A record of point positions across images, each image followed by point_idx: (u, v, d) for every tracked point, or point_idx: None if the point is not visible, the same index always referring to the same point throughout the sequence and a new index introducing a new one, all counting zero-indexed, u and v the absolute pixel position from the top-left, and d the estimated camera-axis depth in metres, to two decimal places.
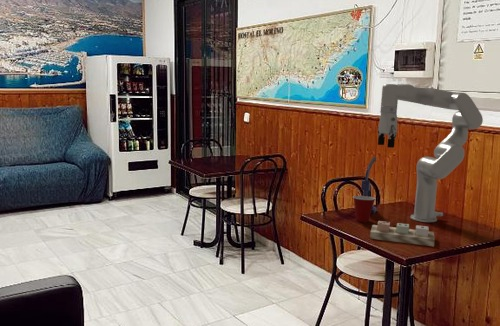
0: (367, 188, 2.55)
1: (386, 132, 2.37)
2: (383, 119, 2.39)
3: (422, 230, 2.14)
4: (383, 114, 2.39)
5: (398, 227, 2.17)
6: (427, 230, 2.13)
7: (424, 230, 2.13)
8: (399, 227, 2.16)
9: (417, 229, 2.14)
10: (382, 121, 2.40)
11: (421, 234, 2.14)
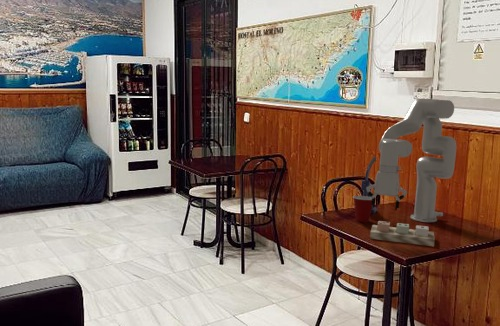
0: None
1: (394, 194, 2.16)
2: (388, 180, 2.15)
3: (422, 230, 2.14)
4: (387, 174, 2.15)
5: (398, 227, 2.17)
6: (427, 230, 2.13)
7: (424, 230, 2.13)
8: (399, 227, 2.16)
9: (417, 229, 2.14)
10: (386, 182, 2.16)
11: (421, 234, 2.14)
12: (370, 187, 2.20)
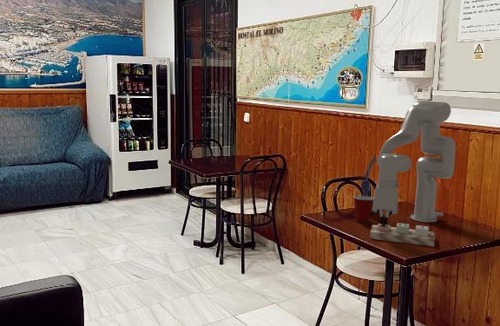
0: (367, 188, 2.55)
1: (393, 209, 2.16)
2: (386, 195, 2.16)
3: (422, 230, 2.14)
4: (386, 189, 2.16)
5: (398, 227, 2.17)
6: (427, 230, 2.13)
7: (424, 230, 2.13)
8: (399, 227, 2.16)
9: (417, 229, 2.14)
10: (384, 197, 2.16)
11: (421, 234, 2.14)
12: None
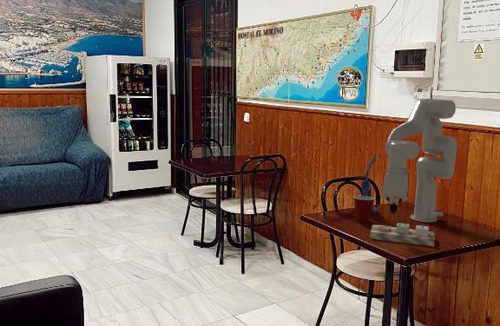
0: (367, 188, 2.55)
1: (402, 196, 2.15)
2: (396, 182, 2.14)
3: (422, 230, 2.14)
4: (395, 176, 2.14)
5: (398, 227, 2.17)
6: (427, 230, 2.13)
7: (424, 230, 2.13)
8: (399, 227, 2.16)
9: (417, 229, 2.14)
10: (394, 185, 2.15)
11: (421, 234, 2.14)
12: None
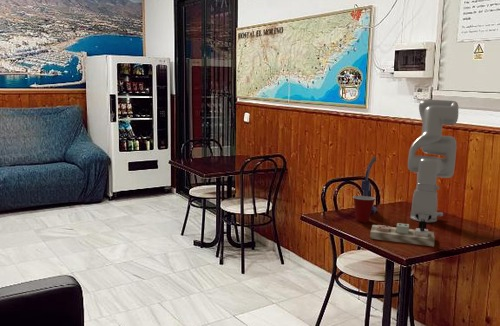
0: (367, 188, 2.55)
1: (432, 213, 2.12)
2: (426, 199, 2.11)
3: (422, 233, 2.14)
4: (425, 193, 2.11)
5: (398, 227, 2.17)
6: (427, 233, 2.13)
7: (424, 233, 2.14)
8: (399, 227, 2.16)
9: (417, 232, 2.14)
10: (424, 201, 2.12)
11: None
12: None
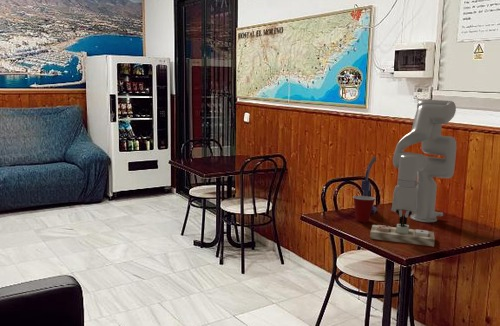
0: (367, 188, 2.55)
1: (412, 209, 2.14)
2: (406, 194, 2.14)
3: (422, 234, 2.14)
4: (406, 189, 2.13)
5: (398, 228, 2.17)
6: (427, 234, 2.13)
7: (424, 234, 2.14)
8: (399, 228, 2.16)
9: (417, 233, 2.15)
10: (404, 197, 2.14)
11: None
12: None
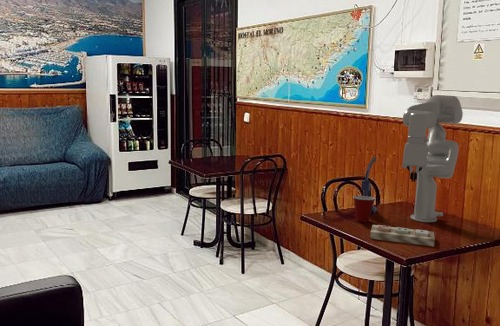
0: (367, 188, 2.55)
1: (423, 164, 2.22)
2: (416, 151, 2.22)
3: (422, 234, 2.14)
4: (416, 146, 2.21)
5: (398, 231, 2.17)
6: (427, 234, 2.13)
7: (424, 234, 2.14)
8: (399, 231, 2.17)
9: (417, 233, 2.15)
10: (414, 153, 2.22)
11: None
12: None
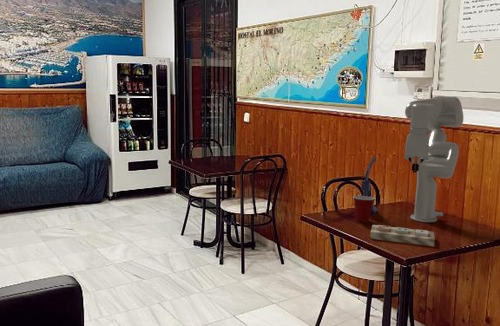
0: (367, 188, 2.55)
1: (424, 155, 2.24)
2: (418, 142, 2.23)
3: (422, 234, 2.14)
4: (418, 137, 2.23)
5: (398, 231, 2.17)
6: (427, 234, 2.13)
7: (424, 234, 2.14)
8: (399, 231, 2.17)
9: (417, 233, 2.15)
10: (416, 145, 2.24)
11: None
12: None
